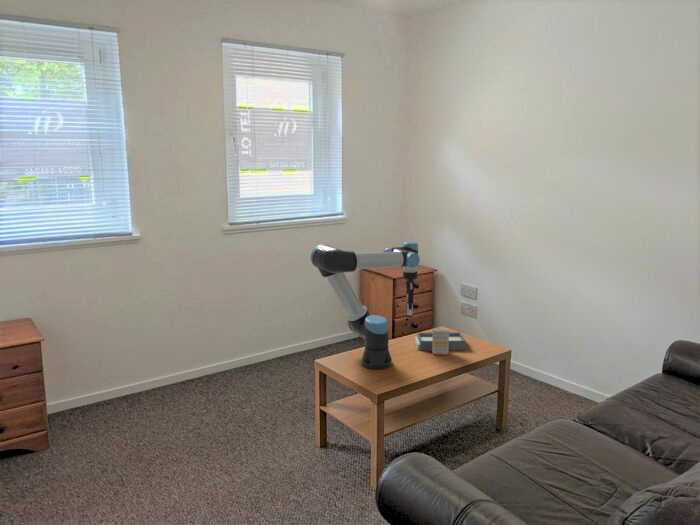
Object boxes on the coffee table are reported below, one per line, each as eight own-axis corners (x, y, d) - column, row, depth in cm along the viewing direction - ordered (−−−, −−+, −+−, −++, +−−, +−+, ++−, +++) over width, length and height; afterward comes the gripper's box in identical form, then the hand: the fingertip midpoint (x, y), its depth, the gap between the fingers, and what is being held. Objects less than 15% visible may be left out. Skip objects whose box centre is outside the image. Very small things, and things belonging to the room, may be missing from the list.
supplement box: (447, 352, 289) (448, 328, 287) (448, 355, 285) (449, 331, 282) (431, 351, 290) (432, 327, 288) (432, 354, 285) (432, 330, 283)
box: (417, 350, 292) (418, 341, 291) (414, 341, 306) (414, 332, 305) (465, 349, 292) (465, 340, 291) (460, 340, 306) (460, 332, 305)
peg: (406, 317, 294) (407, 295, 291) (405, 315, 297) (406, 294, 295) (413, 317, 294) (413, 295, 291) (412, 315, 297) (412, 294, 295)
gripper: (419, 274, 282) (418, 318, 287) (415, 267, 299) (414, 309, 303) (404, 274, 282) (404, 318, 287) (401, 267, 298) (401, 309, 303)
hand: (409, 313), depth 295 cm, fingers closed on peg, 3 cm apart
